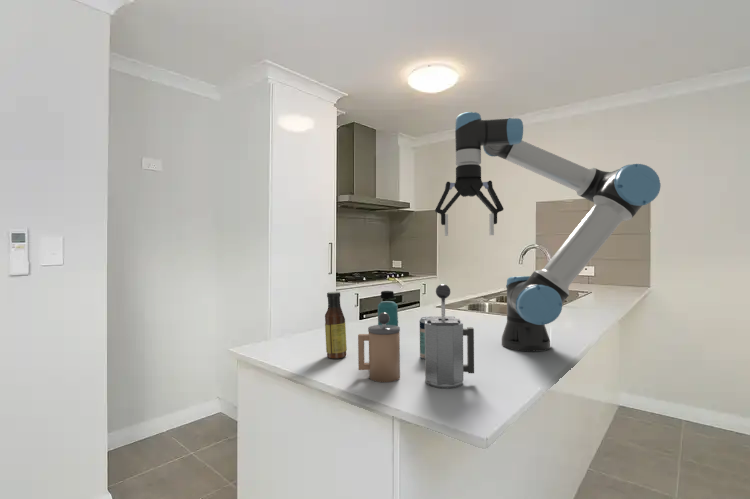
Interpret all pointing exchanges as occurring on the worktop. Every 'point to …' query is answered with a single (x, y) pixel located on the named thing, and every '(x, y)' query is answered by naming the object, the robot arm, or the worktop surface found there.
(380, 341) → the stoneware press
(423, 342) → the beer can
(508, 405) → the worktop surface
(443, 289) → the plunger
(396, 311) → the beverage bottle
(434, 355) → the steel carafe
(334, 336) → the sauce bottle
